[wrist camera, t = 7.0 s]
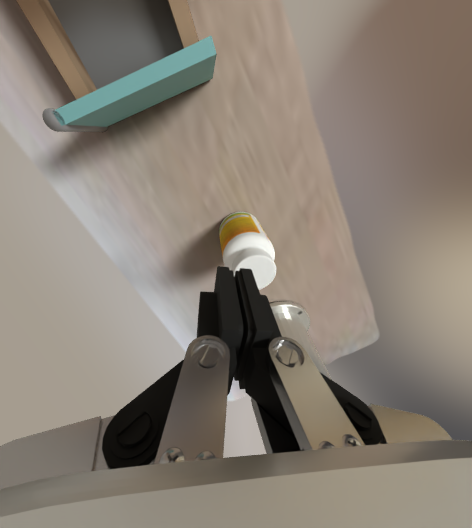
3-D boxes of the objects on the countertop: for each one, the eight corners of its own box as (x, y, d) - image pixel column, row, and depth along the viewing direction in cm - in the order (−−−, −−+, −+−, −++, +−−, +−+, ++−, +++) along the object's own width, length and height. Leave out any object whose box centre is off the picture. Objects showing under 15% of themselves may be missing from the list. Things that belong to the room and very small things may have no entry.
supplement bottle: (210, 236, 26) (213, 283, 18) (234, 202, 24) (250, 237, 16) (243, 255, 29) (258, 304, 20) (267, 225, 27) (296, 265, 18)
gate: (213, 81, 18) (217, 58, 12) (99, 133, 19) (53, 134, 13) (207, 64, 18) (209, 30, 12) (89, 119, 18) (37, 113, 13)
